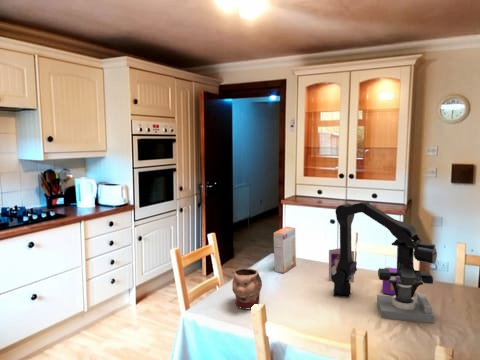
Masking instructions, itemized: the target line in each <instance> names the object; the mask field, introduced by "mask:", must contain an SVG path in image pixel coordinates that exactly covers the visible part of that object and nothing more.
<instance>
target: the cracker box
mask: <svg viewBox="0 0 480 360" xmlns="http://www.w3.org/2000/svg"><path fill="white" fill-rule="evenodd" d="M296 247H297V246H296V227H292V226H284V227H282V228H280V229H278V230H276V231H275V232H273V259H274V260H273V261H274V263H273V264H274V266H273V267H274V272H275V271H276V273H280V274H285V273H287V272H288V271H289V270H292V269H293V268H294V267H295V266H297V254H296V253H297V251H296V250H297V249H296Z"/></svg>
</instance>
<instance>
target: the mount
mask: <svg viewBox="0 0 480 360" xmlns="http://www.w3.org/2000/svg"><path fill="white" fill-rule="evenodd" d="M376 304H377V308H378V311H379V315H380V318H381V319H386V320H394V321H395V320H397V321H405V320H407V321H408V322H416V323H417V322H418V323H425V324H427V323H428V324H435V314H434V312H433V307H432V304H431V303H430V302H429V300H428V298H427V296H426V295H425V294H424V293H417V297H412V298H411V303H401V302H398V301H397V297H396V295H382V294H376ZM407 321H406V322H407Z"/></svg>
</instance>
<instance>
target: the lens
mask: <svg viewBox="0 0 480 360" xmlns="http://www.w3.org/2000/svg"><path fill="white" fill-rule="evenodd" d="M411 288H412V284H403V283H401V280H398V281H397V292H398V295H397V301H398V302H401V303H411Z"/></svg>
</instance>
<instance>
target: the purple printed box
mask: <svg viewBox="0 0 480 360" xmlns="http://www.w3.org/2000/svg"><path fill="white" fill-rule="evenodd" d="M351 253H352V259H353V261H355V251H354V250H351ZM339 260H340V247H339V248H334V249H328V282H332V279H331V277H332V276H333V275H334V274H335V273H336V271H337V265H338V262H339ZM354 281H355V274H354V275H353V276H352V277H351V279H349V283H354Z"/></svg>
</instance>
